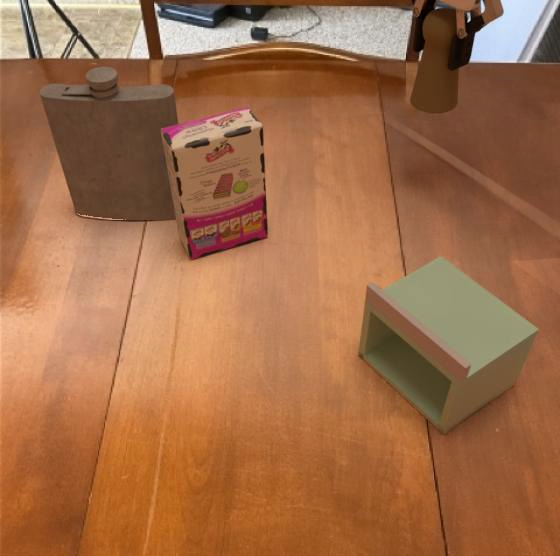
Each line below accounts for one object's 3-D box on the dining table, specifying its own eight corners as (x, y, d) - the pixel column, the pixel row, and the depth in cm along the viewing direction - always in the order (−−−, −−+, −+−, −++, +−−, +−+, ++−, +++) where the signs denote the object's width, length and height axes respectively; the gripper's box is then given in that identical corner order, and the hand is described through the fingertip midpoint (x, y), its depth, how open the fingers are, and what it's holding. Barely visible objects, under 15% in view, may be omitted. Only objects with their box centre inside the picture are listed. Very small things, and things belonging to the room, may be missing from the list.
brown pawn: (462, 111, 86) (479, 21, 77) (415, 115, 86) (426, 25, 77) (451, 87, 90) (466, -1, 81) (405, 90, 89) (416, 2, 81)
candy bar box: (254, 216, 93) (249, 104, 80) (269, 237, 90) (266, 125, 77) (176, 238, 90) (158, 126, 77) (189, 261, 87) (172, 148, 74)
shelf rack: (427, 312, 81) (444, 241, 73) (515, 384, 74) (545, 315, 66) (357, 355, 77) (366, 284, 69) (443, 435, 70) (465, 368, 62)
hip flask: (191, 204, 95) (172, 63, 79) (188, 223, 92) (168, 81, 76) (78, 202, 95) (37, 62, 79) (71, 221, 92) (28, 80, 77)
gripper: (559, -108, 66) (515, 74, 80) (434, -145, 75) (414, 24, 89) (506, -90, 63) (470, 95, 77) (383, -131, 72) (370, 41, 86)
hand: (440, 55), depth 83 cm, fingers closed on brown pawn, 5 cm apart
